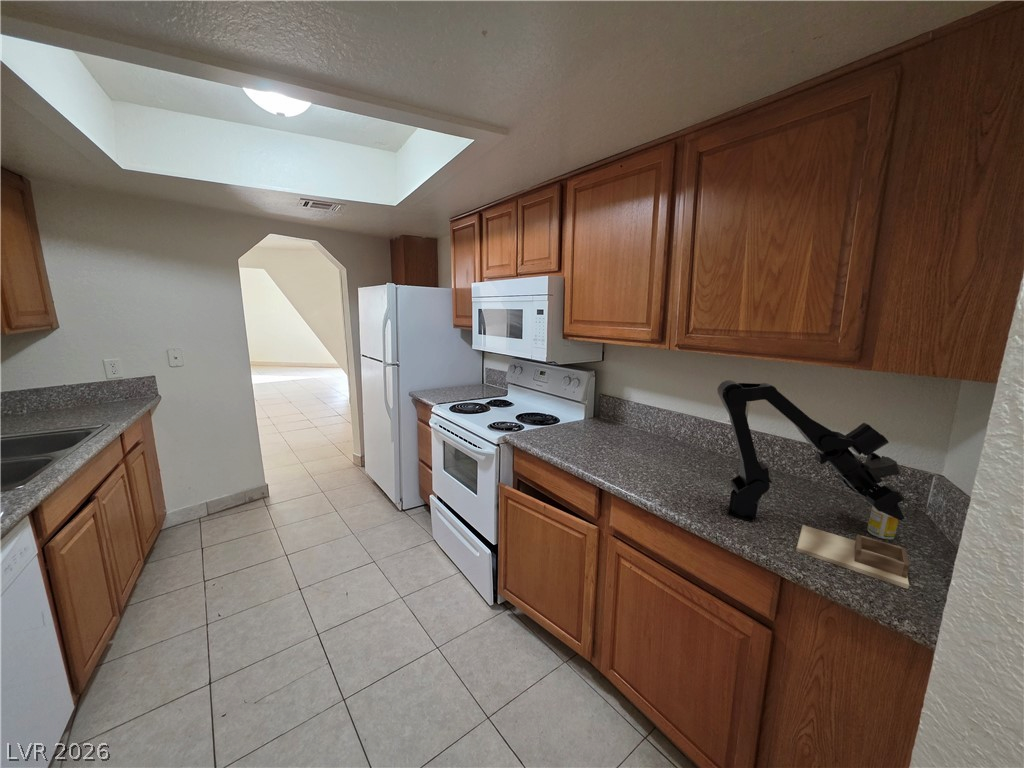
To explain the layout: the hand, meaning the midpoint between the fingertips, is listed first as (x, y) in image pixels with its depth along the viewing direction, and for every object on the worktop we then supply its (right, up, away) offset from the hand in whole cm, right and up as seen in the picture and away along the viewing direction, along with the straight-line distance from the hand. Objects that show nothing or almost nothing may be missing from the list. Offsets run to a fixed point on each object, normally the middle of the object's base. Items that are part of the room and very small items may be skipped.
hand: (890, 510), depth 102 cm
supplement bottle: (-1, -7, +2) cm, 7 cm away
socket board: (-18, -8, -8) cm, 21 cm away
